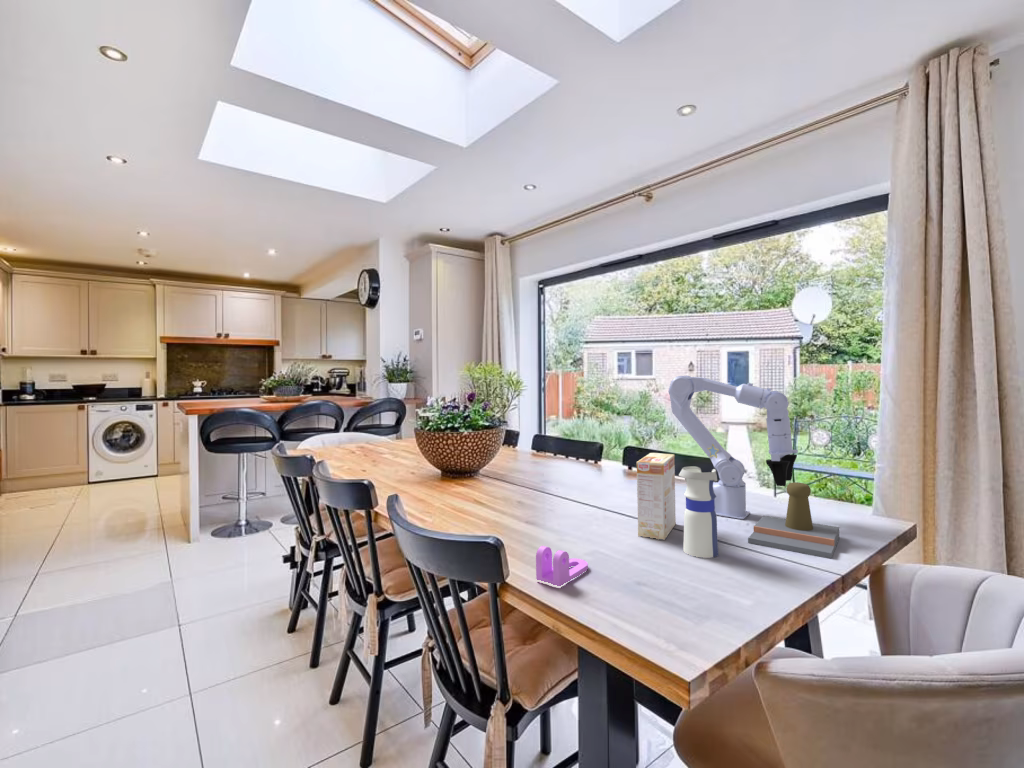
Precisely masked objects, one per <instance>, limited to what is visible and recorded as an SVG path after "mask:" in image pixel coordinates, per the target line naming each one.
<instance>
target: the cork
mask: <svg viewBox="0 0 1024 768" xmlns="http://www.w3.org/2000/svg"><path fill="white" fill-rule="evenodd" d="M786 493H787V494H788V502H787V509H786V517H785V519H786V522H785V526H786V527H788V528H791V529H795V530H802V531H809V530H813V525H812V523H813V518H812V512H811V507H810V500H809V497H810V496H811V493H812V489H811V487H810V485H808V484H807V483H805V482H795V481H794V482H789V483H788V484H787V486H786Z"/></svg>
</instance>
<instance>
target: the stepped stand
mask: <svg viewBox="0 0 1024 768" xmlns="http://www.w3.org/2000/svg"><path fill="white" fill-rule="evenodd" d="M785 522H786V518H782V517H776V516H775V517H774V516H768V515H763V516H762V517H761V518H760V519H759V520H758V521H757V522H756V523H755V524H754V525H753V532H752V533H751V534H750V535H749V536H748V538H747V543H748V544H753V545H757V546H762V547H768V548H774V549H778V550H785V551H790V552H793V553H800V554H805V555H810V556H815V557H821V558H827V559H832V558H833V557H834V553H835V550H836V548H837V545H838V542H839V539H840V527H839V526H833V525H827V524H820V523H815V522H812V525H813V530H809V531H802V530H795V529H791V528H788V527H786V526H785Z"/></svg>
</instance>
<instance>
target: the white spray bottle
mask: <svg viewBox="0 0 1024 768" xmlns="http://www.w3.org/2000/svg"><path fill="white" fill-rule="evenodd" d="M707 449H708V450H709V451H710V457H712V456H714V457H716V458H717V455H716V453H717V452H718V451H719V450H718V449H715V447H714V445H713V444H712V447H711V448H707ZM678 476H679V477H681V478H684V479H685V482H686V489H685V492H684V493H683V495H684V497H685V509H684V512H683V544H682V545H683V546H682V547H683V548H682V550H683V552H684V553H685V554H686V553H687V554H686V555H688V554H689V555H688V556H690V555H692V556H691V557H693V556H696V557H695V558H698V557H703V558H702V559H711V558H710V557H713V558H716V557H718V556H719V543H718V520H717V515H716V512H715V498H716V495H715V493H714V490H713V482H715V483H716V482H718V476H717V470H716V469H715V468H713V469H711V472H710V471H708V472H705V471H704V472H702V469H701V467H699V466H696V465H695V466H694V465H693V466H684V467H681V470H680V472H679V473H678ZM715 556H716V557H715Z"/></svg>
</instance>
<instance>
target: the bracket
mask: <svg viewBox="0 0 1024 768" xmlns="http://www.w3.org/2000/svg"><path fill="white" fill-rule="evenodd" d="M588 563H589V562H587V561H586V560H585V559H582V558H575V557H574V558H573V557H572V558H570V554H569V553H568V552H567V551H565V550H561V549H559V550H557V551H556V552H555V553H554V555H553V552H552V548H551V547H549V546H546V545H541V546H539V548H537V551H536V555H535V575H536V576H535V579H537V580H541V581H544V582H548V583H551V584H553V585H557V586H561V585H563V584H564V583H566V582H568V581H570V580H571V579H573V578H575V577H577V576H579V575H580V574H582V573H583V572H585V571H587V569H588V570H589V564H588ZM571 566H575V567H572V568H570V569H569V567H571ZM587 572H588V571H587ZM582 575H583V574H582ZM579 577H580V576H579Z"/></svg>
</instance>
